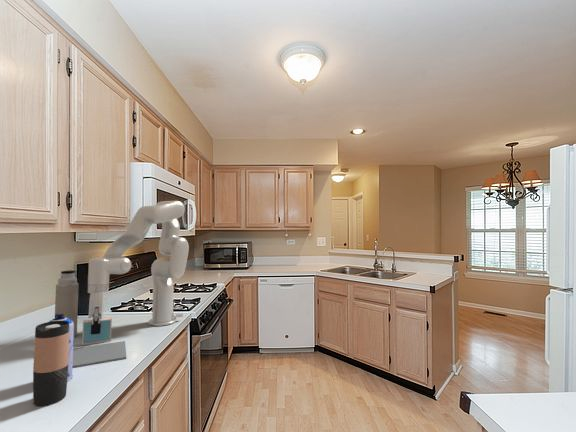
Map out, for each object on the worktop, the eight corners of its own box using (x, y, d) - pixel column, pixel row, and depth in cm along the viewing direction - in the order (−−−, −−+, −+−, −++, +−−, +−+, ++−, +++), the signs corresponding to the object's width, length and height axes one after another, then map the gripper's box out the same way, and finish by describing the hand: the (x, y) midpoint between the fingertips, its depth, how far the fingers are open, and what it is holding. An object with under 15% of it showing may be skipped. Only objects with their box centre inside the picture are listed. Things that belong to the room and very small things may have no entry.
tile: (111, 338, 132) (111, 317, 132) (110, 341, 129) (111, 319, 129) (82, 342, 127) (83, 320, 127) (81, 345, 124) (82, 322, 125)
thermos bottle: (50, 337, 132) (52, 271, 134) (71, 332, 139) (73, 269, 140) (59, 341, 128) (62, 272, 129) (80, 335, 135) (82, 270, 136)
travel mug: (62, 388, 91) (64, 318, 91) (71, 398, 86) (73, 324, 87) (28, 400, 85) (31, 324, 86) (36, 410, 80) (39, 330, 81)
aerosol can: (33, 386, 92) (36, 317, 93) (55, 373, 100) (57, 310, 101) (59, 387, 92) (62, 317, 92) (78, 374, 100) (80, 310, 100)
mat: (124, 342, 128) (125, 340, 128) (126, 358, 112) (126, 356, 112) (58, 352, 117) (58, 350, 117) (49, 371, 101) (49, 369, 101)
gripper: (89, 285, 135) (86, 326, 134) (85, 292, 120) (83, 338, 119) (109, 284, 138) (107, 323, 137) (108, 290, 123) (106, 335, 122)
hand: (96, 330), depth 128 cm, fingers open, 9 cm apart
